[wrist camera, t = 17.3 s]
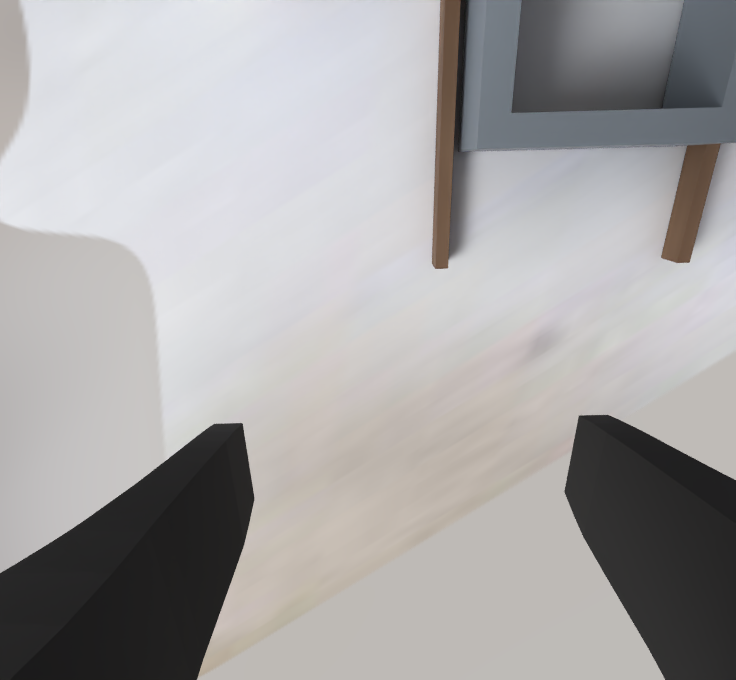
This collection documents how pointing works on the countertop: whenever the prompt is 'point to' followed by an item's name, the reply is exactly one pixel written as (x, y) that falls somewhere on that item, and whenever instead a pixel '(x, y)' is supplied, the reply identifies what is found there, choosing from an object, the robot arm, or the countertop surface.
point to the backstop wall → (687, 196)
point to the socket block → (604, 127)
